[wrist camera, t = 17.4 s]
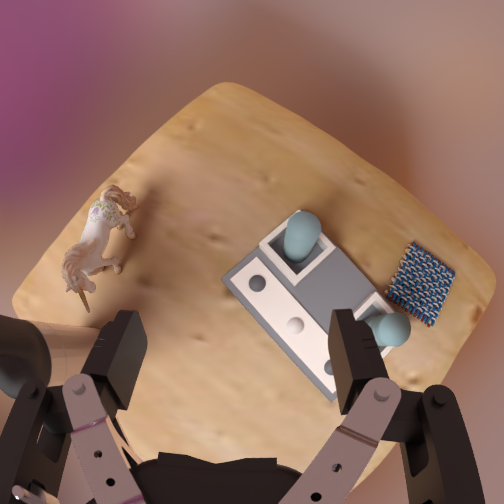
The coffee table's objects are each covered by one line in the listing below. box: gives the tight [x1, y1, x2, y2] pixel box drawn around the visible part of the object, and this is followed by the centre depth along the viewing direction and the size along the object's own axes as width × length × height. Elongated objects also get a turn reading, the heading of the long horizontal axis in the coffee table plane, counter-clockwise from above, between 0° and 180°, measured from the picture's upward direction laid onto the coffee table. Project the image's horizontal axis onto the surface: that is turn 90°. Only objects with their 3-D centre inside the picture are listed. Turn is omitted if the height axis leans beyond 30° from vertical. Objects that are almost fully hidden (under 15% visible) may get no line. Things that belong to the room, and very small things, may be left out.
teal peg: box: [362, 312, 411, 347], centre depth 38 cm, size 4×4×10 cm
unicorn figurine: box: [62, 185, 138, 313], centre depth 41 cm, size 7×20×13 cm, turn 0°
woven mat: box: [384, 242, 455, 327], centre depth 44 cm, size 10×11×2 cm
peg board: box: [221, 209, 396, 402], centre depth 39 cm, size 16×24×11 cm, turn 41°
